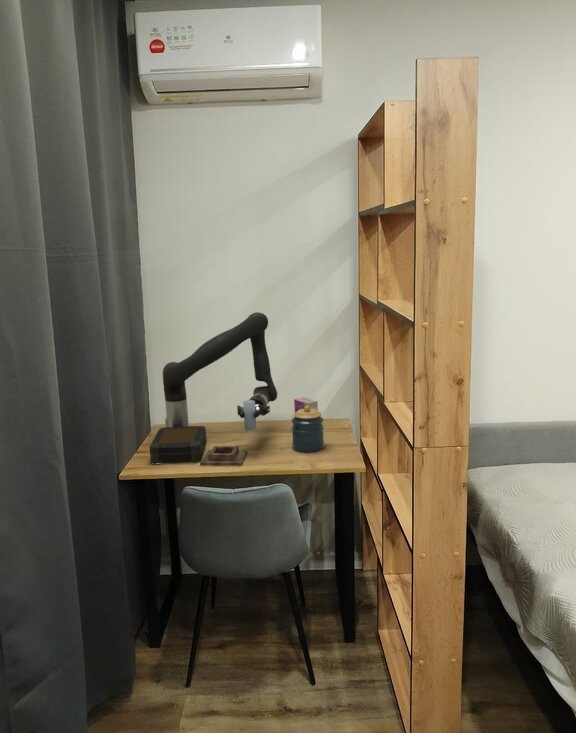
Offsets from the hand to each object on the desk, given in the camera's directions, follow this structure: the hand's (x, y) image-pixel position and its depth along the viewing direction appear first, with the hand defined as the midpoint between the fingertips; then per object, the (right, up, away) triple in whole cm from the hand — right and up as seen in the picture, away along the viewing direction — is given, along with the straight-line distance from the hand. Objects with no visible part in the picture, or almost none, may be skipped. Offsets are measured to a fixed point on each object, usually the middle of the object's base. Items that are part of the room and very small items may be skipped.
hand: (248, 415), depth 237 cm
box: (+24, -8, +42) cm, 49 cm away
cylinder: (+1, -5, +4) cm, 7 cm away
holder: (-9, -17, +2) cm, 20 cm away
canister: (+24, -14, +12) cm, 30 cm away
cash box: (-29, -16, +11) cm, 35 cm away
